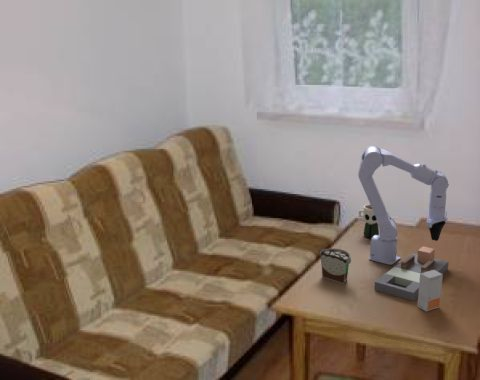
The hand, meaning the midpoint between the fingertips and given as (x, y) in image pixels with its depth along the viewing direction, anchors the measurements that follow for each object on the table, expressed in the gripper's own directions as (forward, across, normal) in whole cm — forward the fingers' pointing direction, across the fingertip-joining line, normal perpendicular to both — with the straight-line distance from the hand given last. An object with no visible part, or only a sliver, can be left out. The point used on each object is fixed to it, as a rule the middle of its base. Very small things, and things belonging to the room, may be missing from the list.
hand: (435, 239), depth 235 cm
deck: (+9, -18, 0) cm, 20 cm away
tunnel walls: (+6, -14, 0) cm, 16 cm away
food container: (+9, -32, +22) cm, 40 cm away
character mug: (+9, +10, +31) cm, 34 cm away
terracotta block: (+6, -8, 0) cm, 9 cm away
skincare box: (+9, -34, -13) cm, 38 cm away
